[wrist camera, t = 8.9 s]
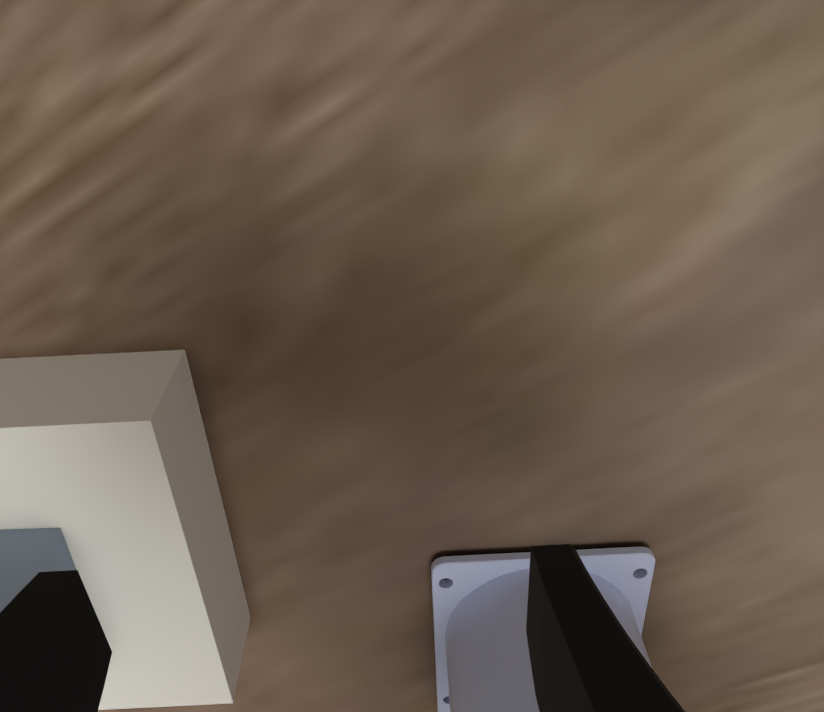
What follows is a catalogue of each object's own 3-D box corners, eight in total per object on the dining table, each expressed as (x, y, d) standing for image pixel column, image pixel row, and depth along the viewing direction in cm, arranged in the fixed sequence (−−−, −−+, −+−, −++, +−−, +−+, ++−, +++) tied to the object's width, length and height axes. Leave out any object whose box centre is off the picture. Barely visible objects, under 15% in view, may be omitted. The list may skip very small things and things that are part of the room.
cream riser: (252, 607, 28) (233, 703, 24) (-55, 622, 28) (-117, 720, 24) (189, 341, 22) (150, 420, 18) (-208, 361, 22) (-321, 444, 18)
